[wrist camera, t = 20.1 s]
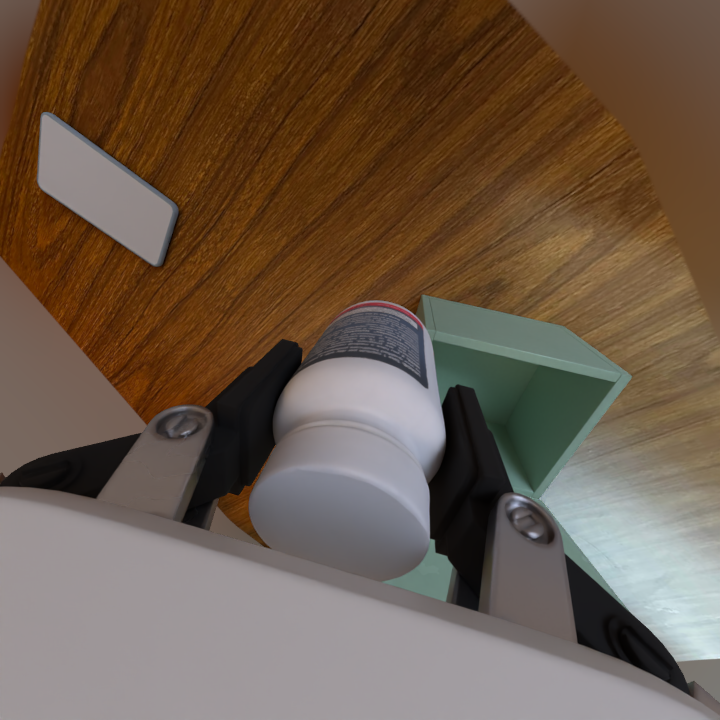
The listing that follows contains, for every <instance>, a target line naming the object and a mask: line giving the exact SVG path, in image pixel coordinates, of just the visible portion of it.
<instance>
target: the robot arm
mask: <svg viewBox="0 0 720 720" xmlns="http://www.w3.org/2000/svg"><path fill="white" fill-rule="evenodd" d="M302 351H303V350H302V348H300V347H298V343H296V342H292V341H288V340H284V339H282V340H281V341H280V342H279V343H278V344H277V345H275V346H274V347H273V348H272V349H271V350H270V351H269V352H268V353H267V354H266V355H265V356H264V357H263V358H262V359H261V360H260V361H259V362H258V363H257V364H256V365H254V366H253V367H248V368H247V369H246V370H245V371H244V372H242V373H241V374H240V375H239V376H238V377H237V378H236V379H235V380H234V381H233V382H232V383H231V384H229V385H228V386H227V387H226V388H225V389H224V390H223V391H222V392H221V393H220V394H219V395H218V396H217V397H215V398H214V399H213V400H212V401H211V402H210V403H209V404H208V405H207V406H206V407H202V406H199V405H180V406H175V407H172V408H169V409H166V410H164V411H162V412H161V413H159V414H157V415H156V416H155V417H154V418H153V419H152V420H151V421H150V423H149V424H148V425H147V427H146V428H145V430H144V431H143V432H142V433H139V434H135V435H130V436H127V437H122V438H118V439H113V440H109V441H105V442H101V443H97V444H92V445H88V446H84V447H79V448H75V449H71V450H67V451H62V452H58V453H54V454H50V455H47V456H44V457H41V458H38V459H36V460H33V461H31V462H29V463H27V464H25V465H23V466H21V467H20V468H18V469H17V470H15V471H14V472H12V473H11V474H10V475H9V476H8V477H5V476H4V475H3V473H0V720H720V703H719V702H718V701H717V700H715V699H714V698H713V697H712V696H711V695H710V694H709V693H707V692H706V691H705V690H704V689H703V688H702V687H701V686H699V685H698V684H697V683H696V682H695V681H693V682H690V683H688V684H687V683H686V680H685V678H684V675H683V673H682V672H681V670H680V668H679V666H678V665H677V663H676V661H675V660H674V658H673V657H672V655H671V654H670V653H669V652H668V650H667V649H666V648H665V646H664V645H663V644H662V643H661V642H660V640H659V639H658V638H657V637H656V636H655V635H654V634H653V633H652V632H651V631H650V630H649V629H648V628H647V627H646V626H644V625H643V624H642V623H641V622H640V621H639V620H638V619H637V618H636V617H635V616H633V615H632V614H631V613H630V612H629V611H628V610H627V609H626V608H625V607H624V606H622V605H621V604H620V603H619V602H618V601H617V600H616V599H615V598H614V597H612V596H611V595H610V594H609V593H608V592H607V591H606V590H605V589H604V588H603V587H601V586H600V585H599V584H598V583H597V582H596V581H595V580H594V579H593V578H592V577H590V576H589V575H588V574H587V573H586V572H585V571H584V570H583V569H582V568H581V567H579V566H578V565H577V564H576V563H575V562H574V561H573V560H572V559H571V558H570V557H568V556H567V555H566V554H565V553H564V547H563V540H562V535H561V532H560V529H559V527H558V525H557V523H556V522H555V520H554V519H553V517H552V516H551V515H550V514H549V513H548V512H547V511H546V510H545V509H544V508H543V507H542V506H541V505H540V504H538V503H537V502H535V501H534V500H532V499H531V498H529V497H527V496H524V495H522V494H519V493H514V491H513V488H512V485H511V483H510V480H509V477H508V474H507V472H506V469H505V466H504V463H503V461H502V458H501V455H500V452H499V450H498V447H497V444H496V441H495V439H494V436H493V433H492V432H491V431H490V430H489V429H488V427H487V424H486V422H485V419H484V416H483V413H482V410H481V407H480V404H479V402H478V399H477V396H476V393H475V390H474V388H471V387H467V386H463V385H459V384H457V385H456V386H455V387H450V388H449V389H448V391H447V394H446V396H445V399H444V401H443V403H442V406H441V407H442V412H443V418H444V423H445V431H446V448H445V454H444V458H443V461H442V463H441V466H440V468H439V470H438V471H437V473H436V474H435V476H434V477H433V478H432V480H431V481H430V482H429V483H428V487H429V495H430V503H429V514H430V539H433V540H435V553H438V554H441V555H445V556H448V560H449V561H450V563H451V564H452V565H453V568H452V573H451V578H450V583H449V588H448V593H447V598H446V602H444V601H441V600H438V599H435V598H431V597H428V596H425V595H421V594H418V593H415V592H412V591H408V590H405V589H402V588H399V587H395V586H392V585H389V584H385V583H382V582H379V581H375V580H372V579H369V578H365V577H362V576H359V575H356V574H352V573H349V572H346V571H342V570H339V569H336V568H332V567H329V566H326V565H322V564H319V563H316V562H312V561H309V560H306V559H302V558H299V557H296V556H292V555H289V554H285V553H282V552H279V551H275V550H272V549H269V548H265V547H262V546H258V545H255V544H251V543H248V542H245V541H242V540H238V539H234V538H231V537H228V536H225V535H221V534H218V533H214V532H211V531H209V529H210V526H211V523H212V520H213V516H214V513H215V510H216V506H217V503H218V500H219V498H220V497H222V496H225V495H227V493H232V494H235V495H239V494H240V493H241V491H242V490H243V488H244V486H245V485H246V486H250V485H251V484H252V483H253V481H254V480H255V478H256V476H257V475H258V473H259V471H260V470H261V468H262V466H263V465H264V463H265V461H266V460H267V458H268V456H269V455H270V453H271V451H272V450H273V448H274V446H275V445H276V444H275V440H274V435H273V414H274V410H275V407H276V403H277V401H278V399H279V397H280V395H281V393H282V391H283V389H284V388H285V386H286V385H287V383H288V382H289V380H290V379H291V378H292V376H293V375H294V373H295V372H296V371H297V369H298V368H299V366H300V365H301V361H302Z"/></svg>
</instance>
